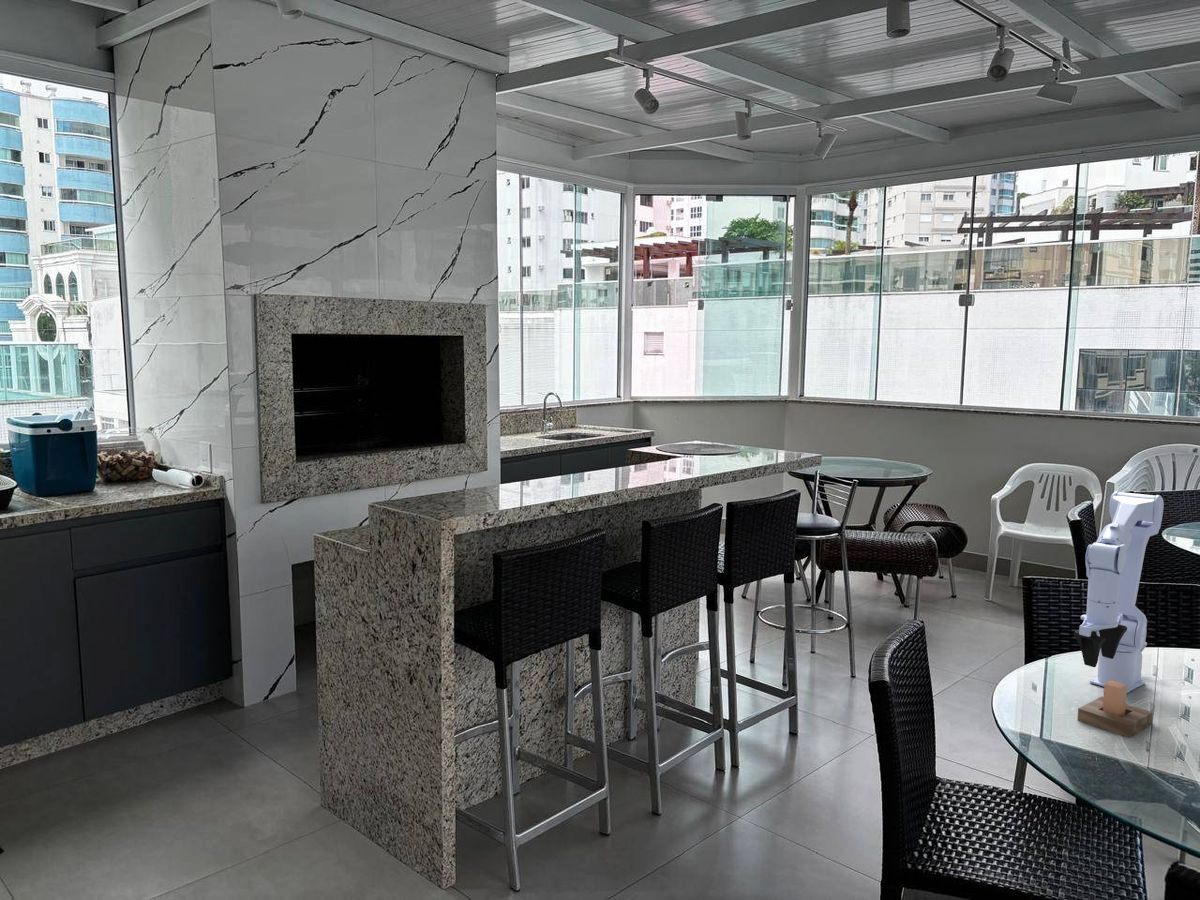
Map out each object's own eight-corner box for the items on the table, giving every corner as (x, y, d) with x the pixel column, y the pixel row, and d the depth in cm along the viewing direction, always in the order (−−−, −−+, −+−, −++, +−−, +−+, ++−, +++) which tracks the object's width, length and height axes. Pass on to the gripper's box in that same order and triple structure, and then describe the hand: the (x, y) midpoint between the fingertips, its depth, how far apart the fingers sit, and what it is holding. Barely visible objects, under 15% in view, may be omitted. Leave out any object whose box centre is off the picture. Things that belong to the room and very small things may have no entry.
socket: (1101, 707, 187) (1102, 696, 186) (1152, 723, 178) (1153, 712, 178) (1077, 719, 181) (1078, 708, 181) (1129, 737, 173) (1129, 725, 172)
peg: (1109, 717, 182) (1111, 680, 181) (1124, 722, 180) (1126, 684, 178) (1102, 720, 180) (1104, 683, 179) (1117, 726, 178) (1119, 688, 177)
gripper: (1100, 589, 192) (1096, 648, 193) (1065, 601, 183) (1062, 663, 185) (1134, 596, 186) (1130, 657, 188) (1100, 609, 178) (1097, 673, 179)
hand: (1099, 661), depth 186 cm, fingers open, 7 cm apart
